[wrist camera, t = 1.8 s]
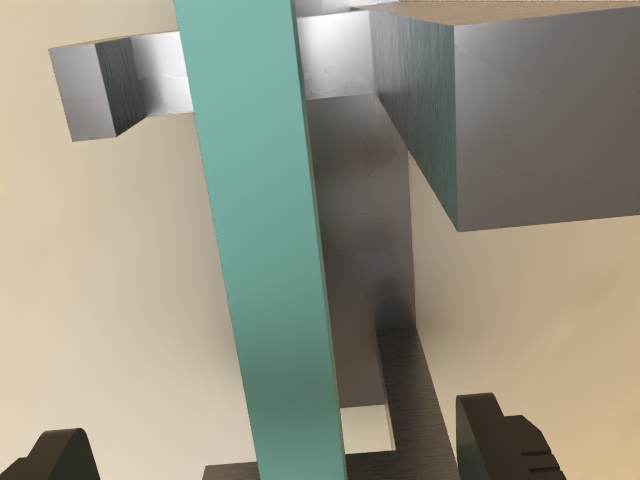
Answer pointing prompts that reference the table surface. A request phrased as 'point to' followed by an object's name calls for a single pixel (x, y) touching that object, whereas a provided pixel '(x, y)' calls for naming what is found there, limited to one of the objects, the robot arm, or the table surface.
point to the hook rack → (426, 148)
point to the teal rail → (267, 227)
